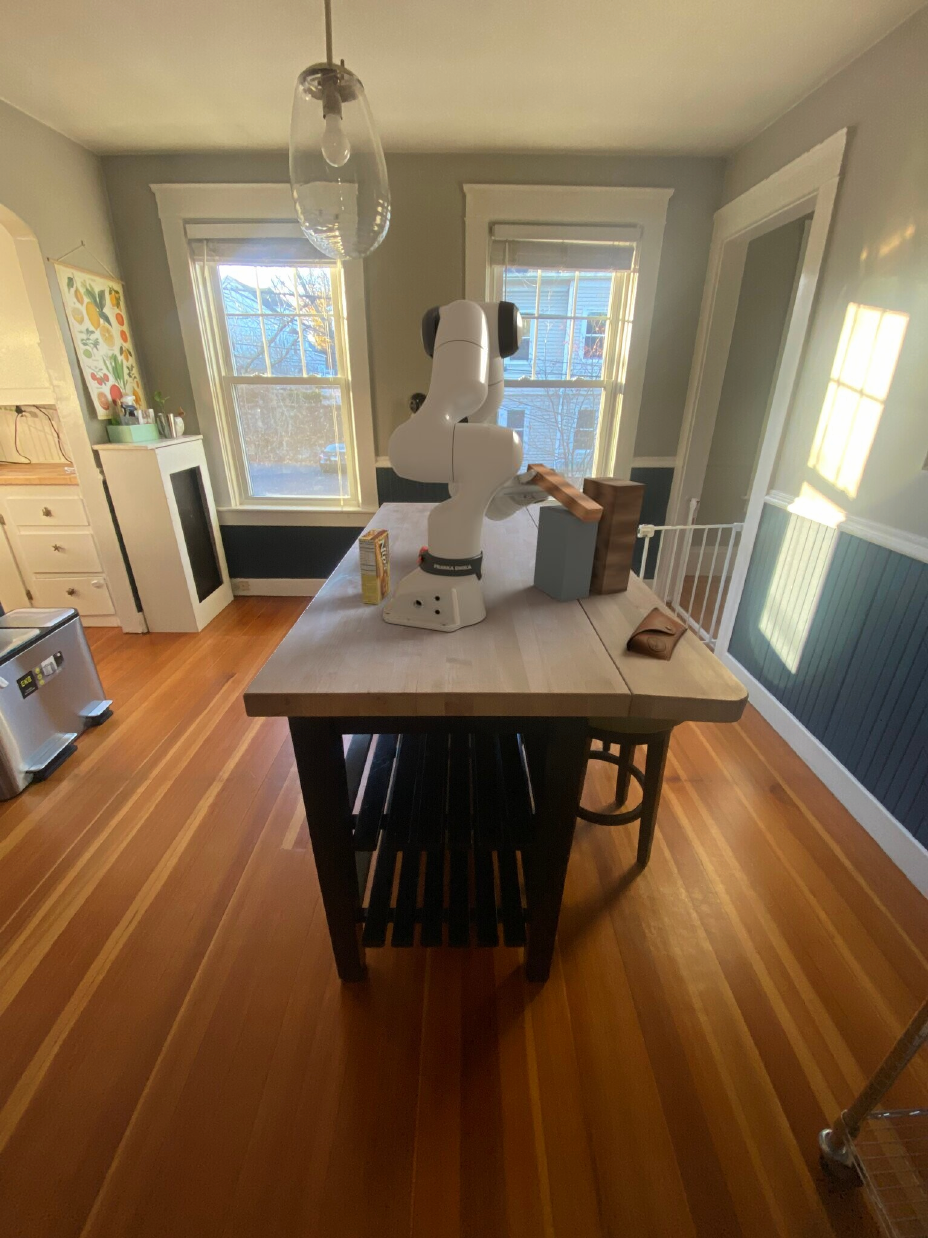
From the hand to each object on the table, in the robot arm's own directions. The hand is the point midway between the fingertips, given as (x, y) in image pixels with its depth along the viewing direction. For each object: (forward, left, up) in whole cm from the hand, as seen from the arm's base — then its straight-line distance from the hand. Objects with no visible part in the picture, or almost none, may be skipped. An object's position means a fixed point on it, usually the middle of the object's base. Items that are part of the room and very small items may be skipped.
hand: (544, 471), depth 118 cm
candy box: (-38, -20, -27) cm, 51 cm away
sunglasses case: (+23, -33, -28) cm, 49 cm away
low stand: (+6, -10, -27) cm, 29 cm away
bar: (+4, -6, -5) cm, 9 cm away
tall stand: (+16, -4, -27) cm, 32 cm away
